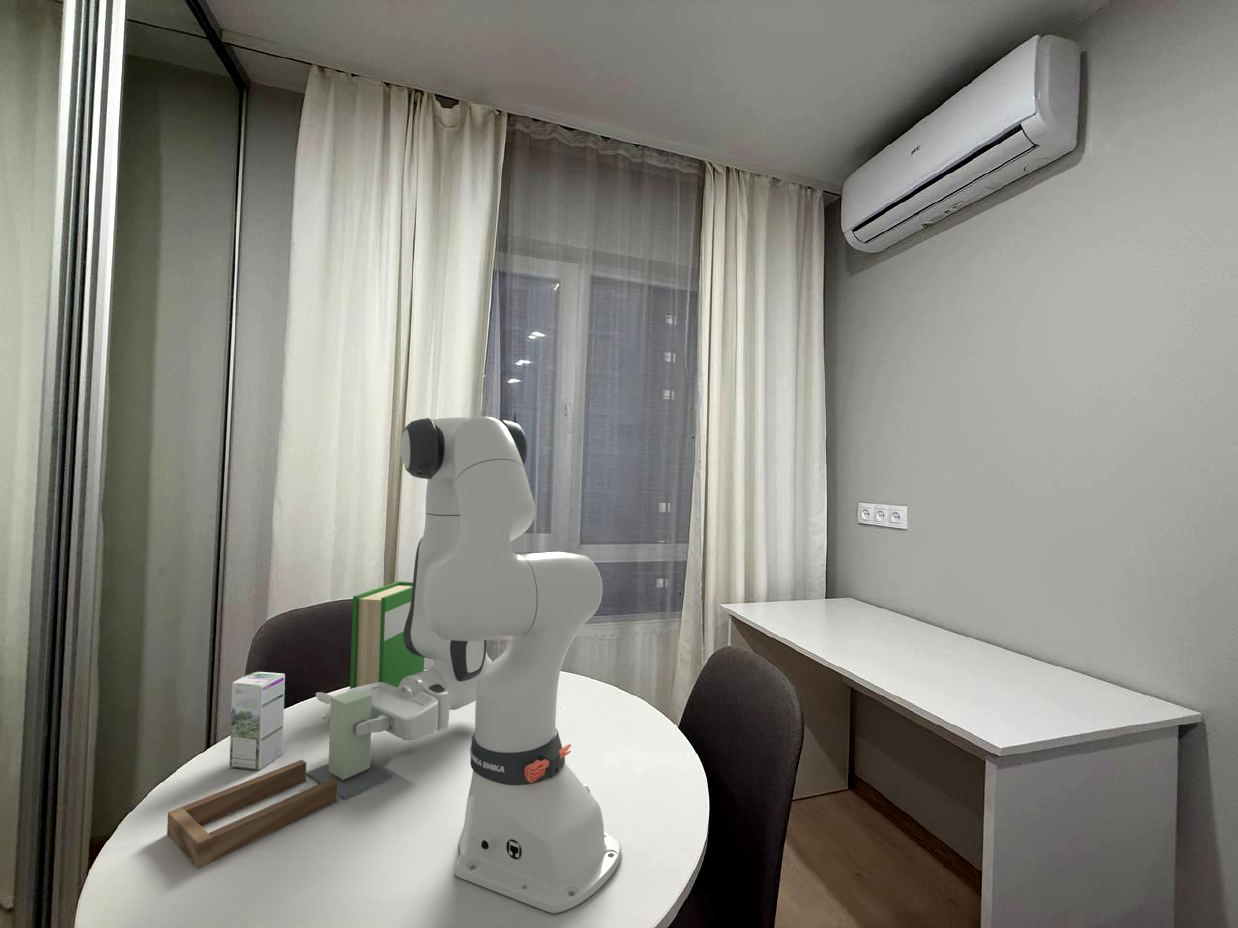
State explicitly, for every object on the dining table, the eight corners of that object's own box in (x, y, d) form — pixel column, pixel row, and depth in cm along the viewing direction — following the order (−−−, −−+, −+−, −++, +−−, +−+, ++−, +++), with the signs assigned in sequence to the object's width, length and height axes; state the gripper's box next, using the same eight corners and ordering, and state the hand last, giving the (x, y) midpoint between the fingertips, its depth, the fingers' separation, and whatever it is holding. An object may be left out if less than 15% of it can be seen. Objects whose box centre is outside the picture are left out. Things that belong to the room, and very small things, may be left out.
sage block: (369, 767, 90) (372, 694, 91) (343, 779, 86) (345, 703, 87) (355, 759, 93) (357, 688, 93) (328, 770, 89) (331, 697, 89)
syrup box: (284, 754, 96) (287, 671, 96) (257, 771, 90) (261, 683, 91) (255, 751, 97) (258, 669, 97) (227, 768, 91) (230, 681, 91)
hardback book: (381, 713, 113) (385, 598, 114) (349, 710, 114) (353, 596, 115) (423, 682, 131) (426, 582, 132) (395, 680, 132) (398, 581, 133)
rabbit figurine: (359, 716, 112) (327, 711, 106) (345, 730, 111) (312, 726, 105) (352, 693, 116) (320, 687, 109) (339, 707, 115) (306, 701, 109)
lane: (336, 801, 82) (337, 781, 82) (197, 868, 68) (198, 843, 68) (301, 777, 89) (301, 759, 89) (166, 834, 74) (167, 812, 74)
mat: (392, 776, 89) (392, 774, 89) (344, 799, 83) (344, 797, 83) (352, 754, 96) (352, 753, 96) (306, 774, 90) (306, 772, 90)
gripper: (386, 668, 106) (314, 690, 95) (454, 693, 95) (381, 722, 83) (385, 701, 106) (313, 727, 95) (453, 730, 95) (380, 763, 83)
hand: (345, 725), depth 89 cm, fingers closed on sage block, 4 cm apart
